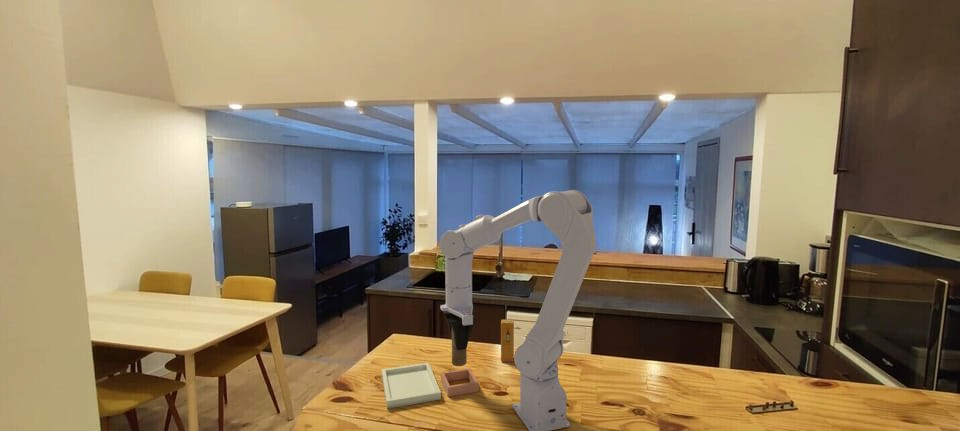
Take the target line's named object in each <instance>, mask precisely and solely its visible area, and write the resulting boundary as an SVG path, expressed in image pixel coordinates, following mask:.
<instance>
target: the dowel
mask: <svg viewBox="0 0 960 431" xmlns="http://www.w3.org/2000/svg"><path fill="white" fill-rule="evenodd" d="M467 360H468V357H467V348H466V349H464V350H457V349H456V346H455V340H454V333H453V329H452V340H451V364H452V365H453V366H455V367H463V366H465V365H467V364H468V363H467Z"/></svg>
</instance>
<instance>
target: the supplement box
mask: <svg viewBox="0 0 960 431" xmlns="http://www.w3.org/2000/svg"><path fill="white" fill-rule="evenodd" d="M514 325H515V321H514V319H501V321H500V361H501V363H502V362H503V363H504V362H507V363H509V362H510V363H515V361H514V355H515V351H514V350H515V348H514V346H515V345H514V344H515V343H514V342H515V341H514V340H515V338H514V336H515V334H514V330H515V329H514V328H515V326H514Z"/></svg>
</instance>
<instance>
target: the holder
mask: <svg viewBox="0 0 960 431" xmlns="http://www.w3.org/2000/svg"><path fill="white" fill-rule="evenodd" d="M465 379H466V380H467V379H468V380H469V381H468V382H464V383H459V384H454V385H453V384H452V385H450V383H449V382H452V381H459V380H465ZM440 382H441V384H442V387H443V389H444V391H445V393H446V396H447V398H449V397H456V396H460V395H466V394H472V393H477V392H479V384H480V383H479V381H478V379H477V378H476V375H474V373H473V372H472V370H471V368H463V369H457V370H450V371H445V372H440Z"/></svg>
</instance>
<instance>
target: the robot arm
mask: <svg viewBox="0 0 960 431" xmlns="http://www.w3.org/2000/svg"><path fill="white" fill-rule="evenodd" d="M594 210H595V209H594V207H593V205H592V204H591V203H590V201H589V199H588V198H587V196H586V195H585V194H584V193H582V192H581V191H580V190H576V189H569V190H564V191H558V190H556V191H555V190H553V191H549V192H547V193H545V194H543V195H539V196H535V197H532V198H530V199H527V200H526V201H524V202H522V203H520V204H518V205H516V206H515V207H513V208H511V209H509V210H507V211H505V212H503V213H502V214H499V215H497V216H496V217H494V216H493V215H490V214H486V215H485V214H479V215H476V216H475V220H473V221H471V222H469V223H463V224H460V225H459V226H458V227H459V228H458V229H456V230H446V231H445V233H443V234H442V235H441V236H440V239H439V249H440V252H441V254H442V255H443V256H444V257H445V258H444V259H445V260H444V261H445V262H444V263H445V264H444V266H445V271H444V275H445V304H440V307H439V308H440V310H441V311H442V312H443V315H444V317H445V319H446V322H447V326H448V329H449V330H448V331H449V334H450V338H451V339H450V340H451V341H452V329H453V333H454V340H455V346H456V349H457V350H464V349H467V347H468V344H469V340H470V336H471V333H472V330H473V328H474V326H475V325H476V323H477V322H476V321H477V319H476V318H475V317H474V315H473V309H474V304H473V260H474V253H475V252H476V251H478V250H481V249H482V248H485V247H486V246H489V245H491V244H494V243H497V242H498V241H499V240H500V239H501V237H502V233H503V232H505V231H507V230H511V229H514V228H515V227H517V226H520V225H522V224H526V223H528V222H530V221H532V222H535V223H539V222H540V223H541V222H542V223H543V225H545V227H547V228H548V230H549V231H551V232H552V234H554V235H555V236H556V238H557V239H558V241H559V243H560V244H561V246H562V248H563V249H562V252H561V255H560V258H559V260H558V263H557V266H556V268H555V271H554V274H553V277H552V279H551V282H550V284H549V287H548V289H547V293H546V294H545V297H544V300H543V303H542V306H541V308H540V311H539V314H538V316H537V319H536V322H535V324H534V325H533V326H532V328H531V329H530V331H529V332H528V333H527V335H526V337H525V339H524V341H523V343H521V345H520V346H518V347H517V348H516V350H515V351H514V364H515V367H516V369H517V370H518V371H519V372H520V374H519V376H520V379H519V380H520V382H519V386H520V390H519V402H516V403H513V404H512V405H511V406H512V409H513V410H514V411H515V412H516V415H517V416H518V417H519V418H520V420H521V421H522V422H523V424H524V426H525V427H526V429H527V430H528V431H555V430H559V429H564V428H570V426H571V423H570V421H569V420H568V419H567V401H568V400H567V399H568V398H567V393H566V390H565V389H564V388H563V386H562V384H561V383H560V378H559V365H558V360H559V359H560V358H561V357H562V356H563V354H564V353H563V352H564V342H563V341H564V338H565V334H566V332H565V331H564V328H565V325H566V323H567V321H568V318H569V316H570V314H571V311H572V309H573V306H574V304H575V300H576V298H577V296H578V293H579V292H580V288H581V286H582V283H583V281H584V278H585V276H586V273H587V271H588V269H589V267H590V265H591V264H590V263H591V261H592V259H593V256H594V253H595V252H596V248H597V239H596V238H597V237H596V232H595V226H594V217H593V216H594Z"/></svg>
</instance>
